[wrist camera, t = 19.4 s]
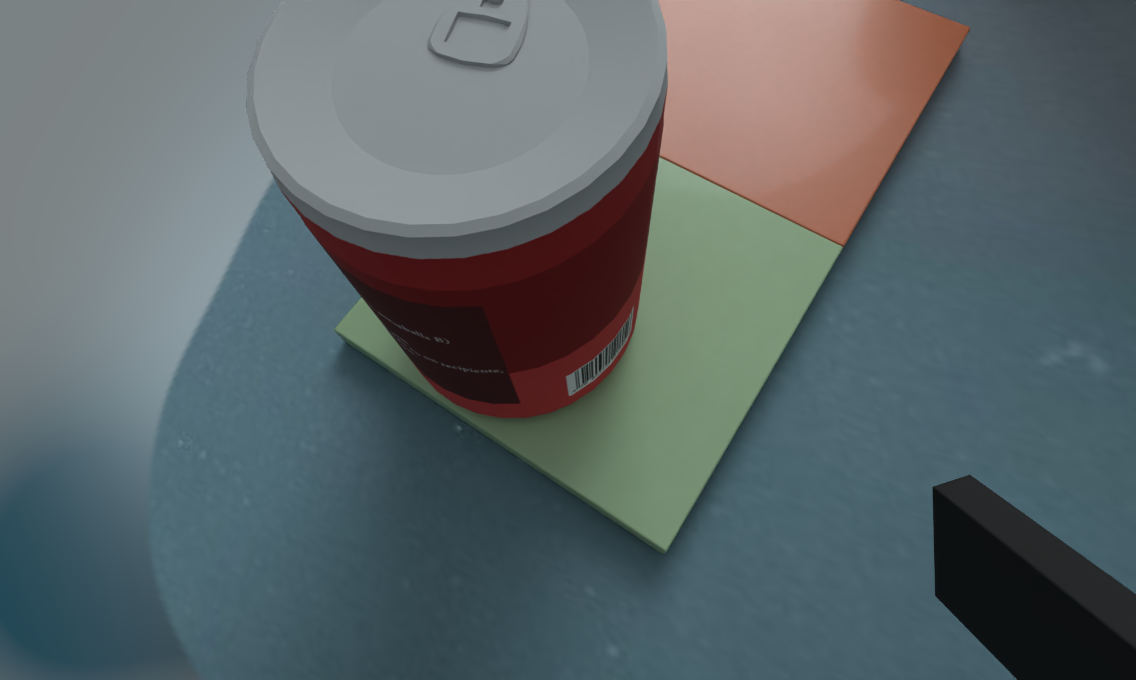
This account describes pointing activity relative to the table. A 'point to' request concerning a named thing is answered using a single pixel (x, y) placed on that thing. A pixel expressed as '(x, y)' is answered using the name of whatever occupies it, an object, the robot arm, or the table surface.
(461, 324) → the canned food
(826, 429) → the table surface
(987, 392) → the table surface
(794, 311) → the board
